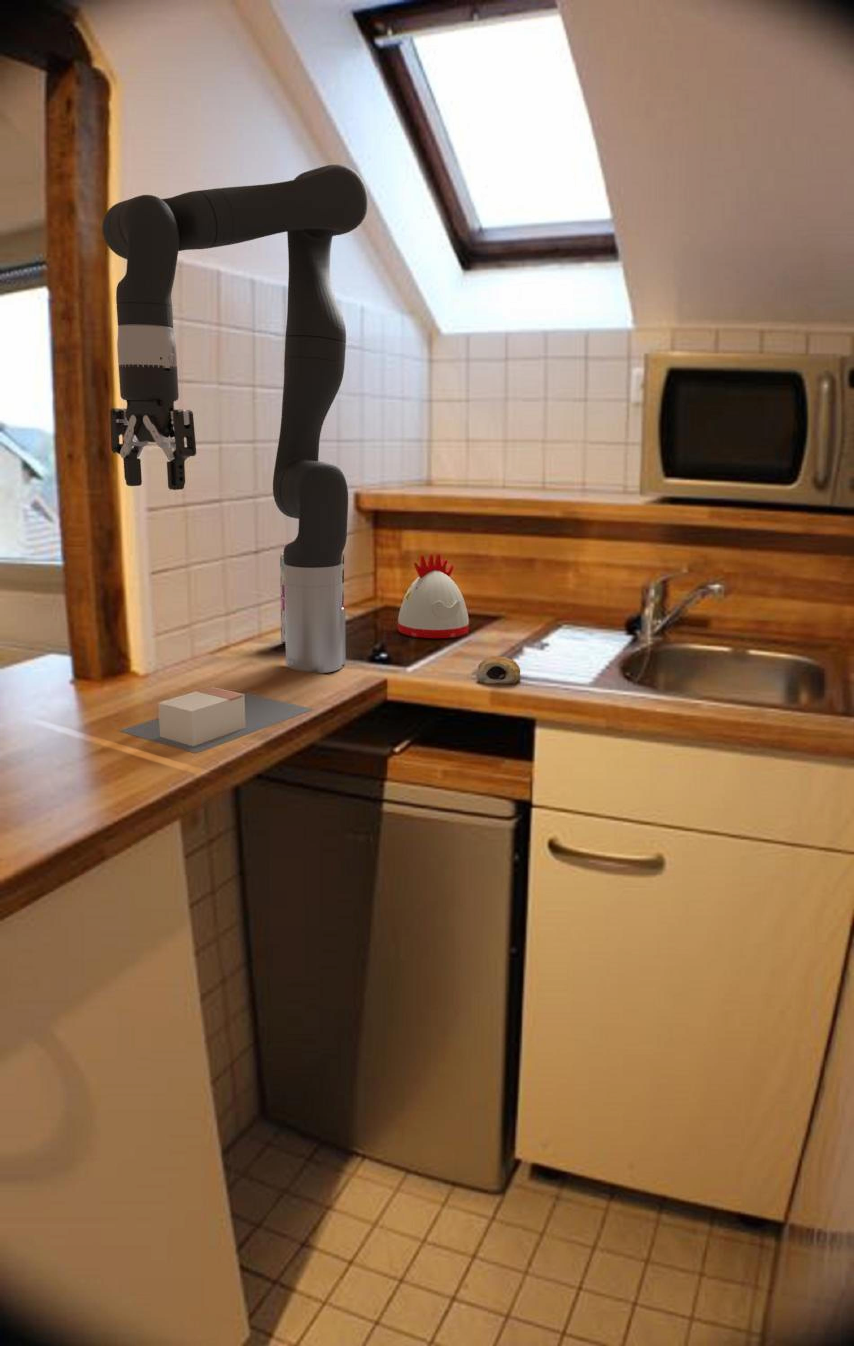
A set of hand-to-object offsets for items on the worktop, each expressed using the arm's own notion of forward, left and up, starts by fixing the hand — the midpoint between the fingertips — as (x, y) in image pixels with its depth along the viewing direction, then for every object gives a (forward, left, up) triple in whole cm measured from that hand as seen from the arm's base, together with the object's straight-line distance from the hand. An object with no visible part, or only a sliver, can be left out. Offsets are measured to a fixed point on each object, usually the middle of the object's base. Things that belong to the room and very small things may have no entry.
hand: (154, 487), depth 128 cm
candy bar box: (-40, -6, -30) cm, 51 cm away
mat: (+4, +15, -30) cm, 34 cm away
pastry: (-39, +33, -31) cm, 60 cm away
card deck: (+9, +17, -30) cm, 35 cm away
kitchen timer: (-62, +6, -30) cm, 69 cm away
